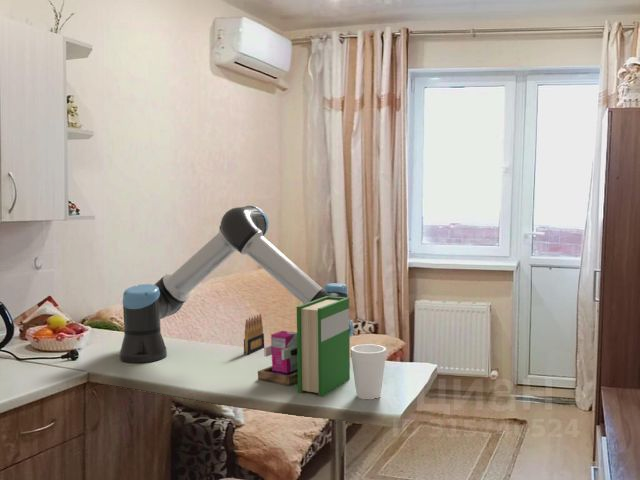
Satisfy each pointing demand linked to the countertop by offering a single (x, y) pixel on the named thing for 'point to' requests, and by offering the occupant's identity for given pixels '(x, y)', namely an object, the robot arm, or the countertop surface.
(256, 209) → the robot arm
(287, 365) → the supplement box
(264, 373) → the shallow wooden tray
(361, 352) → the foam cup
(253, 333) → the ammunition clip
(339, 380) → the hardback book
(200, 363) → the countertop surface
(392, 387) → the countertop surface
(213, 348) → the countertop surface
